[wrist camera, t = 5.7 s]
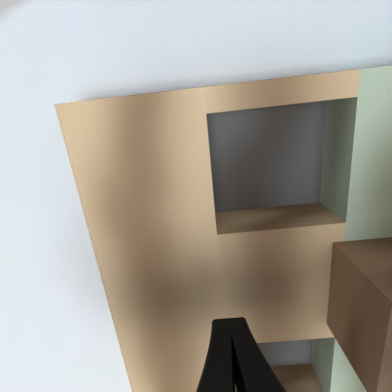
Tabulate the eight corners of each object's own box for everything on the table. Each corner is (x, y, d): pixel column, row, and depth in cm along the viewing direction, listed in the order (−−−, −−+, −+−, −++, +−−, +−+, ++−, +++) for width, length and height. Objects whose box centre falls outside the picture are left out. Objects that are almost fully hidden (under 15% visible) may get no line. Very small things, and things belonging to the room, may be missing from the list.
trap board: (450, 62, 12) (524, 50, 10) (391, 363, 19) (424, 408, 16) (84, 104, 13) (54, 104, 10) (149, 380, 20) (141, 426, 17)
